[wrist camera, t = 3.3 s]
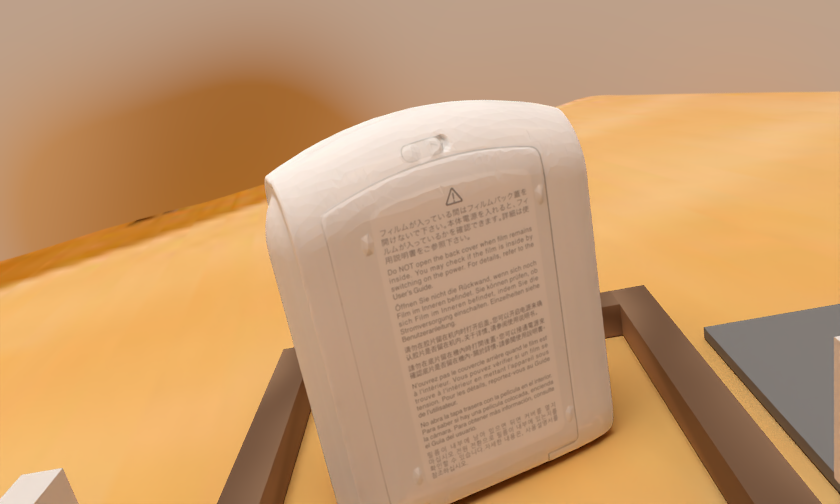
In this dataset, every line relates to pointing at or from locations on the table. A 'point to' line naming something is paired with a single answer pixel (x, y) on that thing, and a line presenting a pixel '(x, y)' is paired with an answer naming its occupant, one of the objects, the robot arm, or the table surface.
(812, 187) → the table surface
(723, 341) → the rubber mat
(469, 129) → the photo printer
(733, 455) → the walnut frame
